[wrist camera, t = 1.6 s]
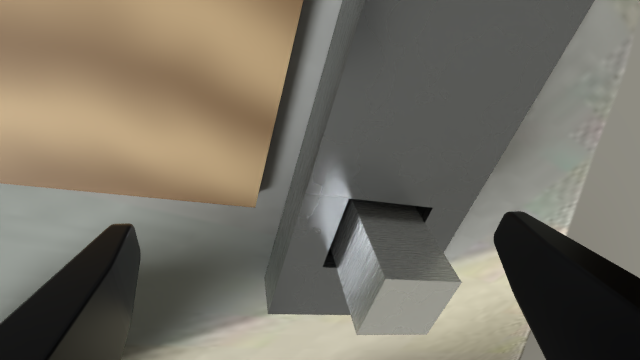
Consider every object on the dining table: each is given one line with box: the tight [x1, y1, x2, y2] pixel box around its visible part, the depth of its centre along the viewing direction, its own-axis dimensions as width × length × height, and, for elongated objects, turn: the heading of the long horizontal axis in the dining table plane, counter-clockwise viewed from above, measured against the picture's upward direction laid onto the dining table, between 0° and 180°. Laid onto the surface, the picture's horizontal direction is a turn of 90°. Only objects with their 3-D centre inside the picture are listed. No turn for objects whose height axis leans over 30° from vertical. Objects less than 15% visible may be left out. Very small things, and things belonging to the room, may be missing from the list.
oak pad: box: [0, 0, 303, 208], centre depth 17 cm, size 12×12×1 cm
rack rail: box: [265, 0, 594, 315], centre depth 22 cm, size 22×10×3 cm, turn 164°
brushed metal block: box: [330, 198, 462, 335], centre depth 22 cm, size 4×4×8 cm
